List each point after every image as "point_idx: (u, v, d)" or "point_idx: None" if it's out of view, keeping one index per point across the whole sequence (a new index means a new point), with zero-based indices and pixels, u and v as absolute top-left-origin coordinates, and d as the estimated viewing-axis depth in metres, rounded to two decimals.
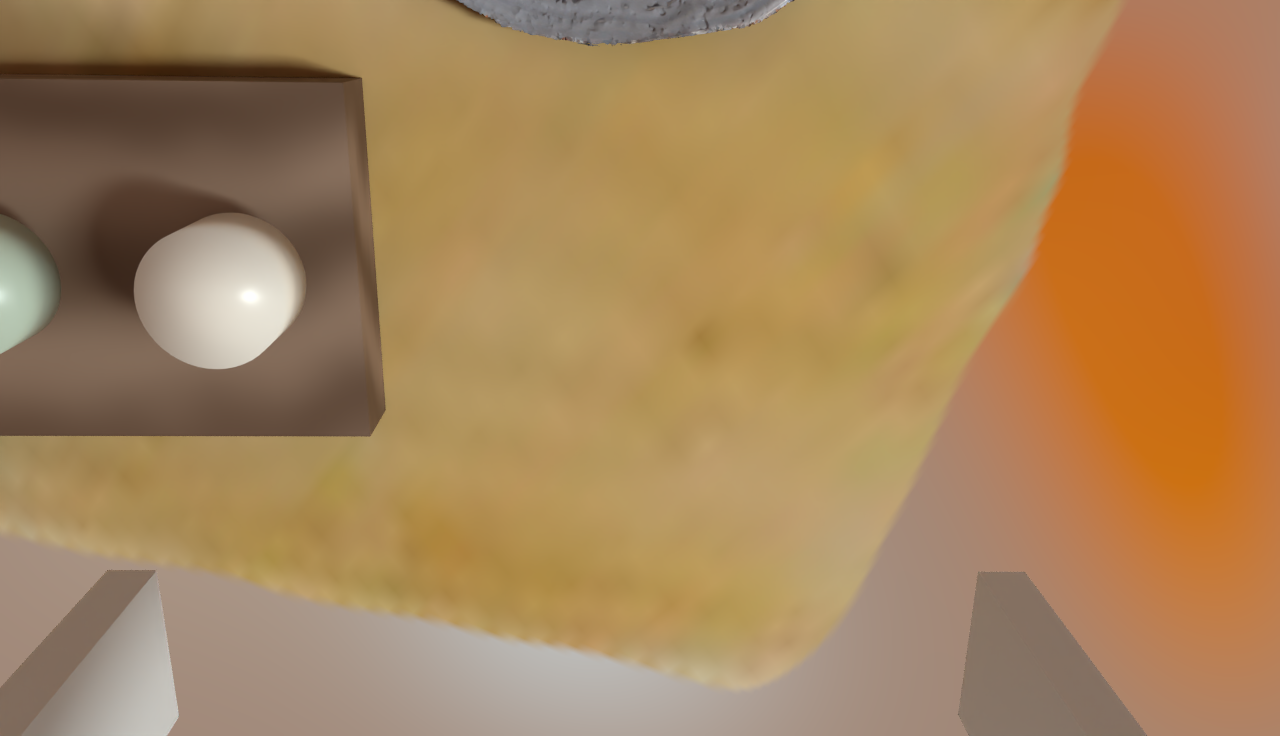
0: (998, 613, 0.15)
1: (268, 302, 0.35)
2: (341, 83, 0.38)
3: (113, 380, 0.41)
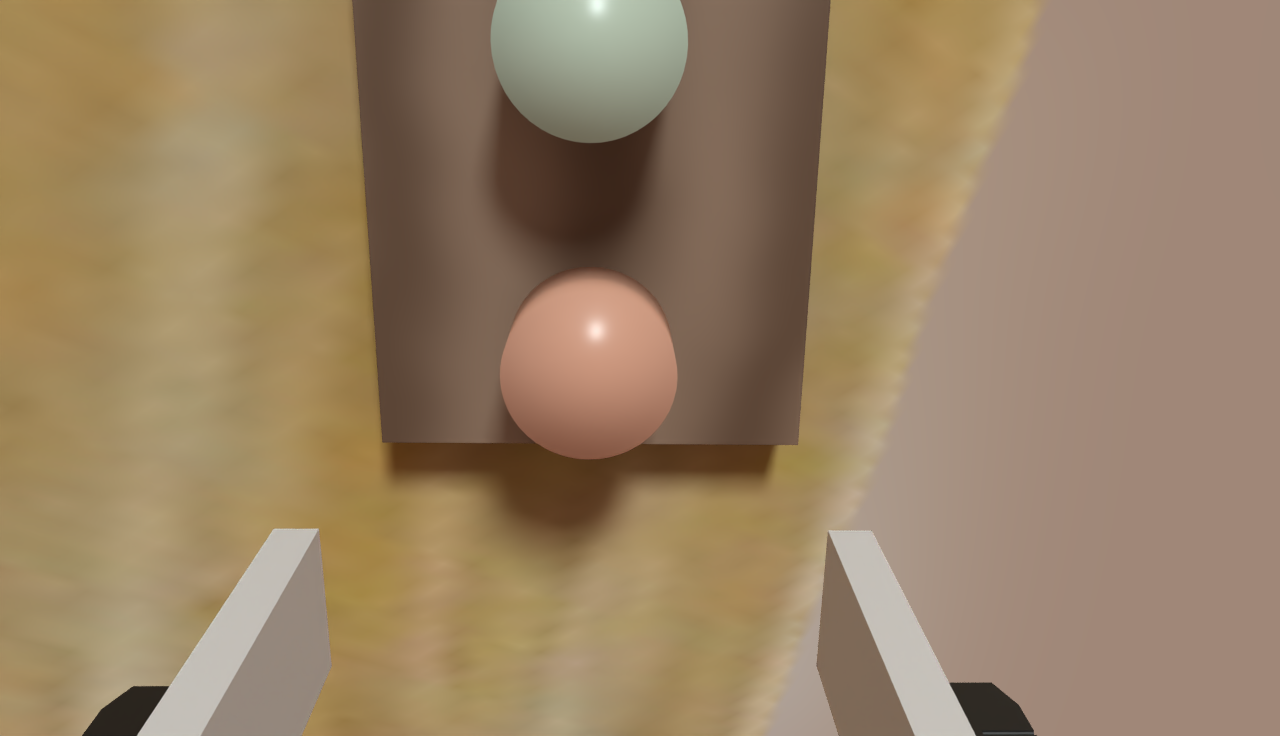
0: (838, 567, 0.17)
1: None
2: None
3: None
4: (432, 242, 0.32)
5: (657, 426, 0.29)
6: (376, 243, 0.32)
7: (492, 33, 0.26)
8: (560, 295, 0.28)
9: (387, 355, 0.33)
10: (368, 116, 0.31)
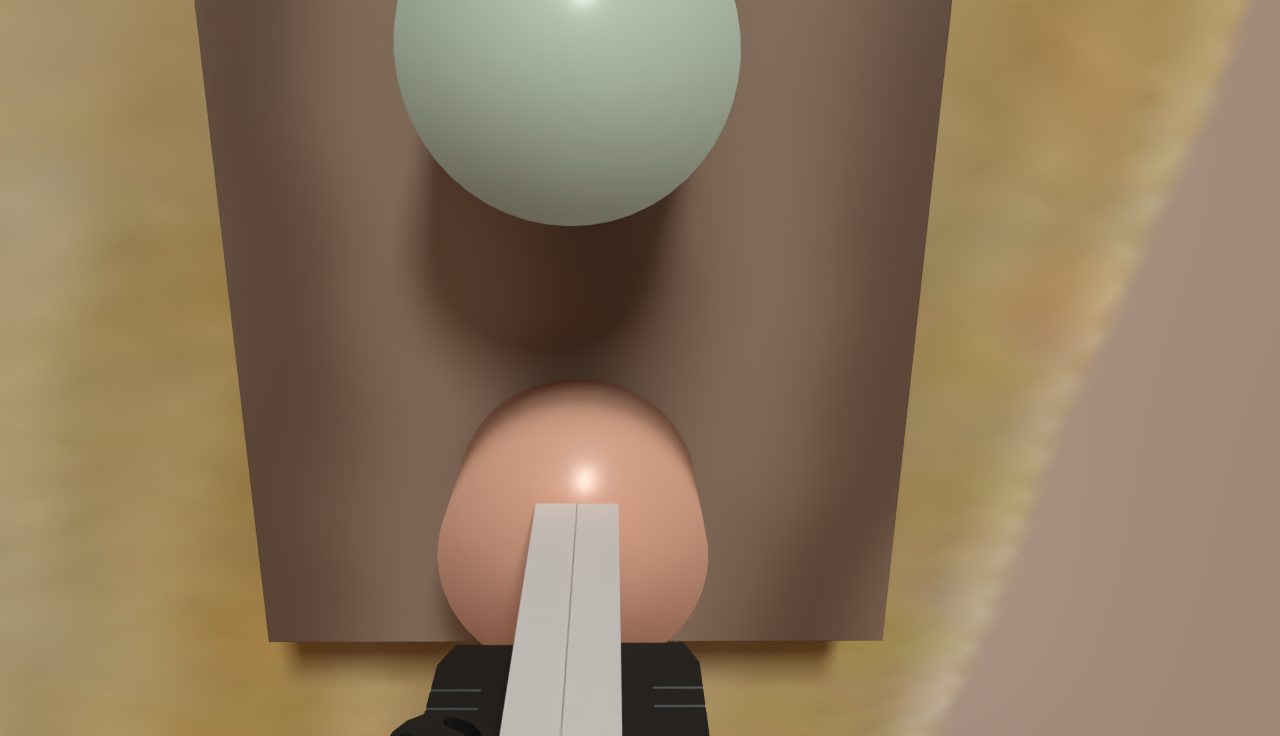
0: (574, 537, 0.17)
1: None
2: None
3: None
4: (333, 355, 0.21)
5: (677, 628, 0.20)
6: (247, 358, 0.21)
7: (397, 38, 0.15)
8: (528, 440, 0.18)
9: (271, 520, 0.22)
10: (226, 166, 0.20)
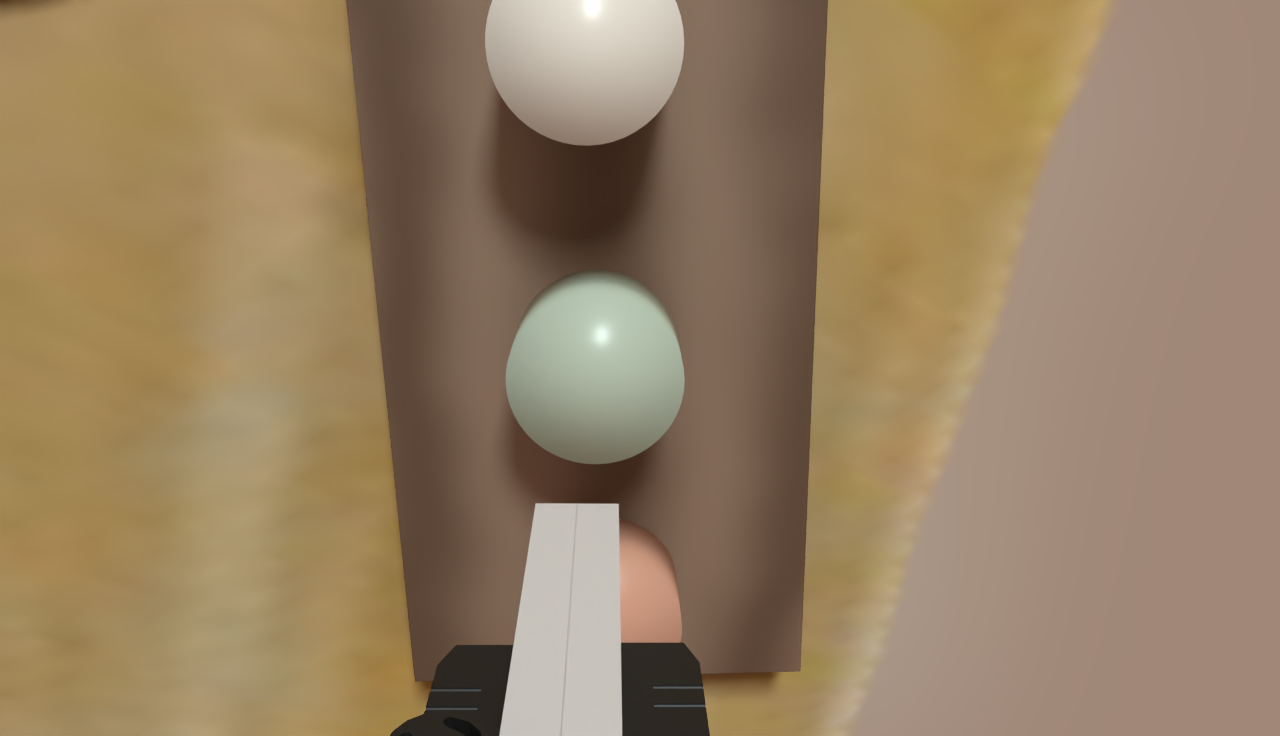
0: (574, 537, 0.17)
1: None
2: None
3: (742, 240, 0.32)
4: (455, 509, 0.35)
5: None
6: (404, 512, 0.35)
7: (507, 377, 0.29)
8: None
9: (417, 607, 0.36)
10: (394, 406, 0.34)
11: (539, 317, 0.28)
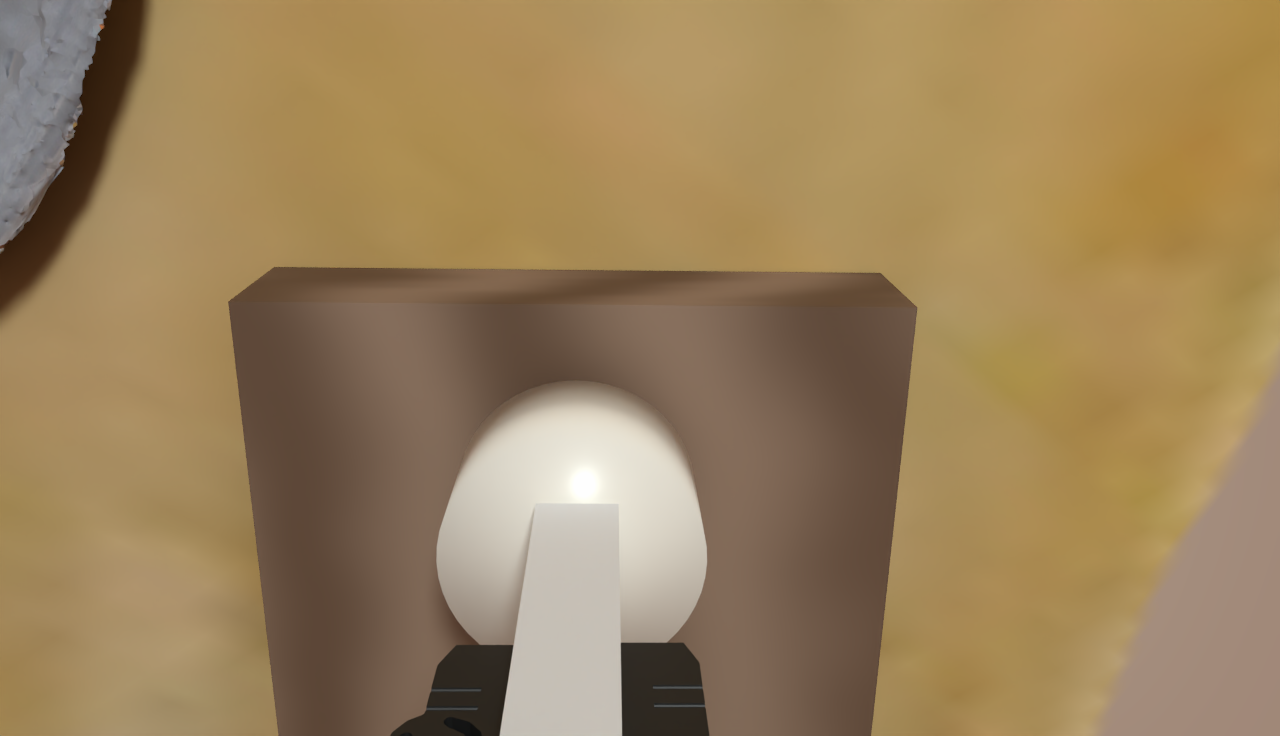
0: (574, 537, 0.17)
1: (575, 460, 0.18)
2: (231, 304, 0.21)
3: (773, 716, 0.24)
4: None
5: None
6: None
7: None
8: None
9: None
10: None
11: None
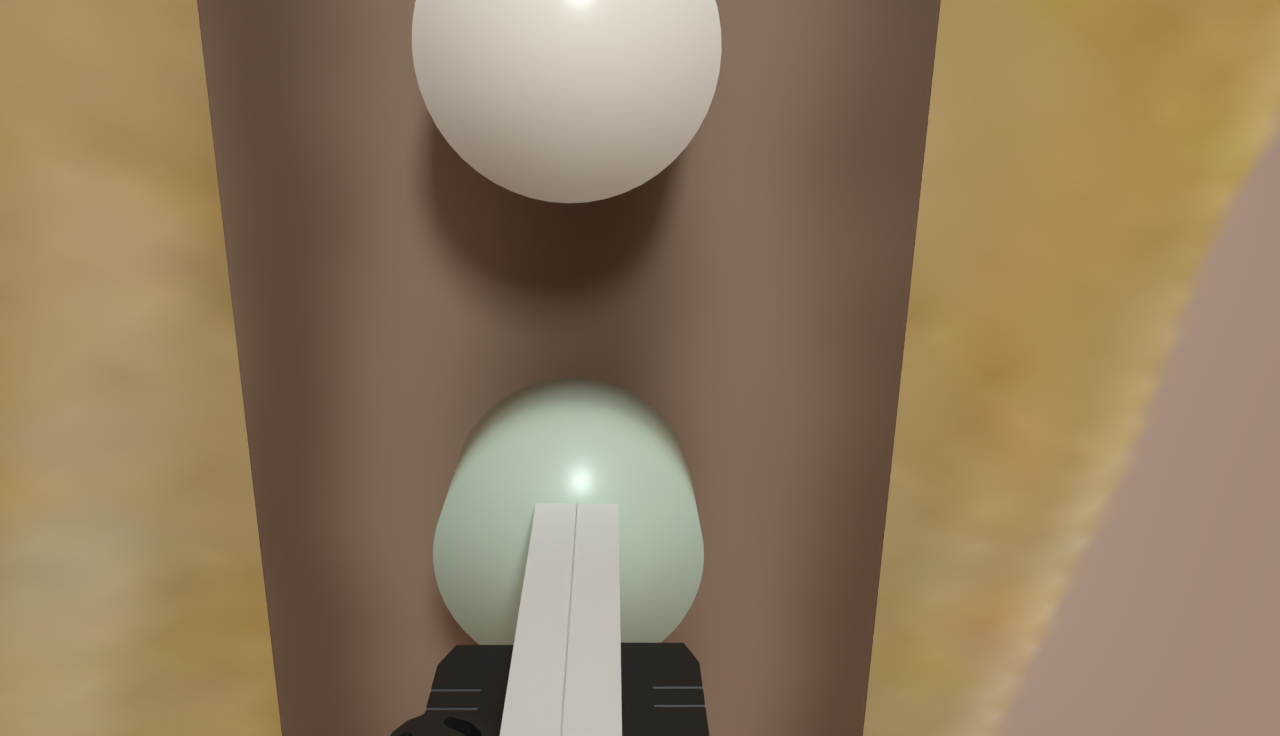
0: (574, 538, 0.17)
1: None
2: None
3: (792, 346, 0.22)
4: (363, 710, 0.24)
5: None
6: (289, 712, 0.24)
7: (435, 550, 0.19)
8: None
9: None
10: (273, 568, 0.23)
11: (486, 464, 0.18)
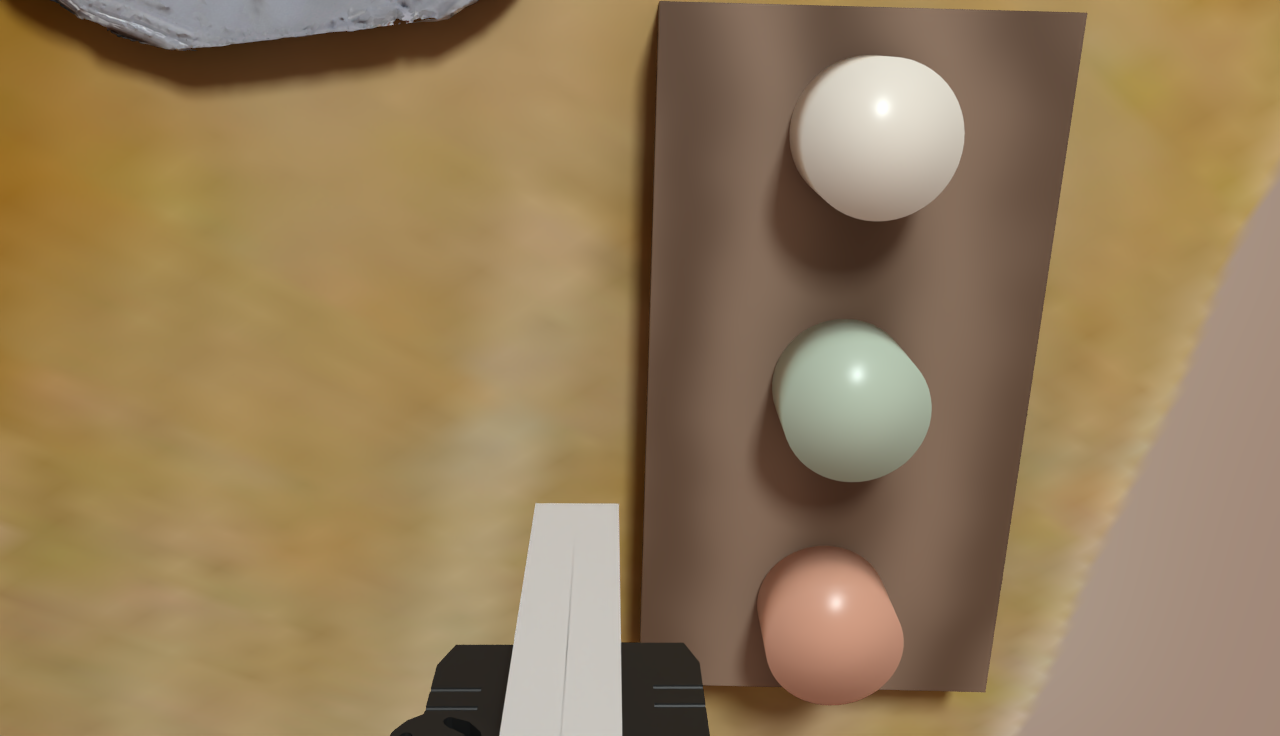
0: (574, 537, 0.17)
1: (891, 72, 0.31)
2: (660, 3, 0.34)
3: (976, 308, 0.37)
4: (695, 532, 0.39)
5: (884, 682, 0.38)
6: (650, 532, 0.39)
7: (784, 406, 0.34)
8: (817, 587, 0.37)
9: (650, 617, 0.41)
10: (653, 438, 0.38)
11: (818, 358, 0.34)
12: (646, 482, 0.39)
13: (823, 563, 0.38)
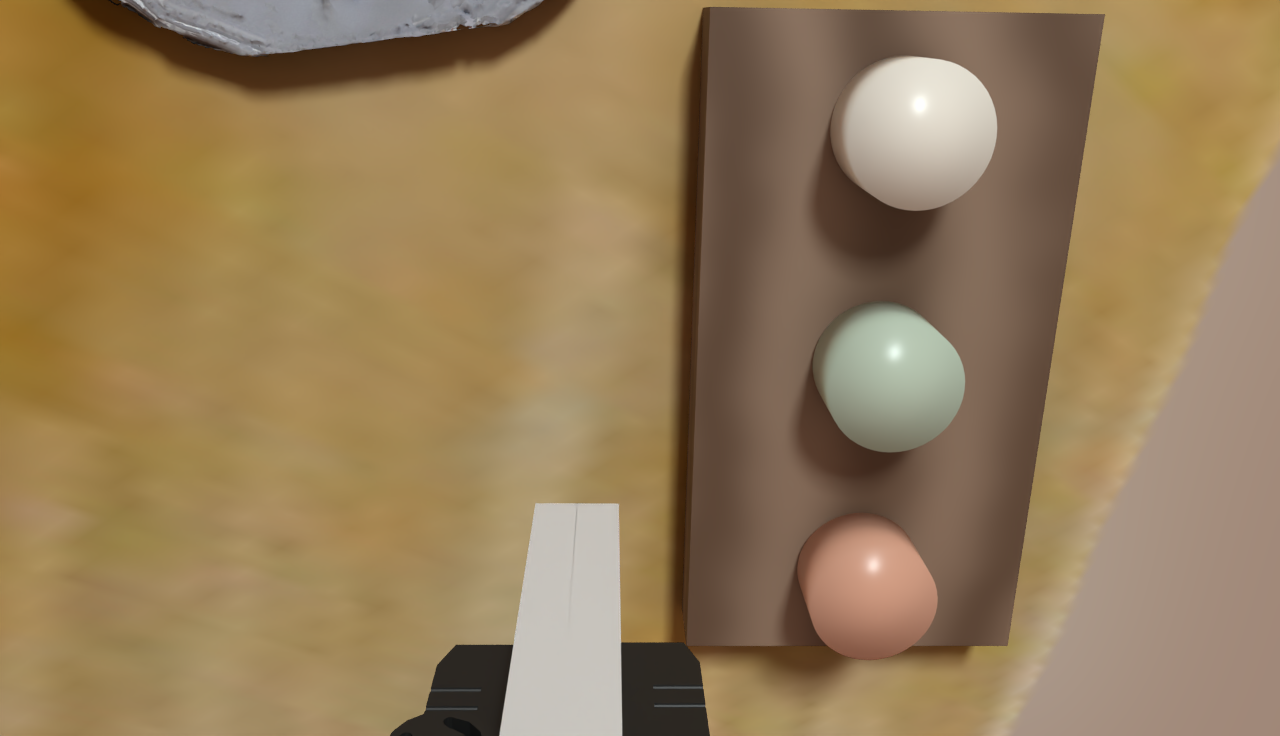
0: (574, 537, 0.17)
1: (931, 73, 0.34)
2: (710, 9, 0.36)
3: (1001, 289, 0.40)
4: (740, 502, 0.42)
5: (920, 637, 0.41)
6: (697, 504, 0.42)
7: (829, 383, 0.37)
8: (858, 550, 0.39)
9: (697, 583, 0.43)
10: (701, 415, 0.41)
11: (861, 338, 0.37)
12: (694, 457, 0.41)
13: (861, 528, 0.41)
